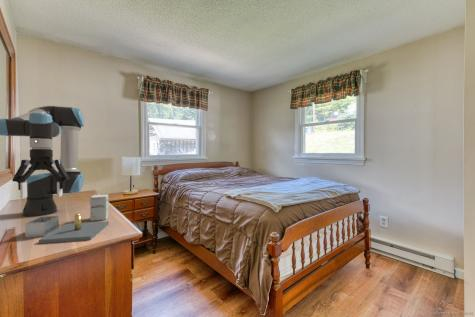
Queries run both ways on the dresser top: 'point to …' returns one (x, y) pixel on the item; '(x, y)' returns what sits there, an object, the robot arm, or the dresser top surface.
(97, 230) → the board
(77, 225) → the peg
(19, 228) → the dresser top surface
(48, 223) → the grey rectangular box
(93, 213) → the supplement box
